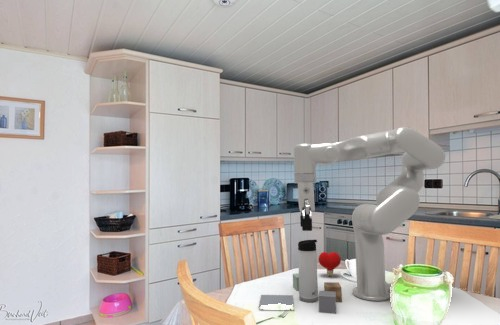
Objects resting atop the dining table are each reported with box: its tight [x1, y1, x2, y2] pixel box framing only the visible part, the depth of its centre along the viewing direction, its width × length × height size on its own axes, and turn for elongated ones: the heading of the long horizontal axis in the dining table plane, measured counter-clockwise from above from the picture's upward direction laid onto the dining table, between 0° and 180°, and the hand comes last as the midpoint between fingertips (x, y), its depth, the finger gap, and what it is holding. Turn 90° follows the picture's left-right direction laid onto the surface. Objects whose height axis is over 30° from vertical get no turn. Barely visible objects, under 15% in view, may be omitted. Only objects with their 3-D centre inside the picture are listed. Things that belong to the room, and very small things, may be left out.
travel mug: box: [297, 239, 319, 303], centre depth 110 cm, size 6×7×20 cm
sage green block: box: [292, 272, 299, 292], centre depth 120 cm, size 5×5×5 cm
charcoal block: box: [318, 290, 337, 315], centre depth 100 cm, size 5×5×5 cm
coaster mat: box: [258, 294, 295, 307], centre depth 105 cm, size 11×11×1 cm
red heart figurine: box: [318, 251, 342, 277], centre depth 135 cm, size 9×7×10 cm
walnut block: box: [323, 281, 343, 303], centre depth 108 cm, size 5×5×5 cm
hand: (306, 228), depth 111 cm, fingers open, 9 cm apart
